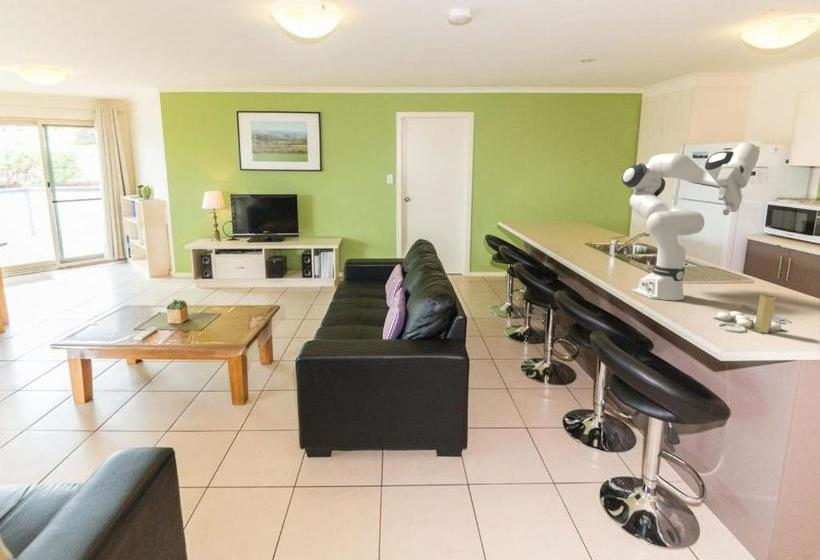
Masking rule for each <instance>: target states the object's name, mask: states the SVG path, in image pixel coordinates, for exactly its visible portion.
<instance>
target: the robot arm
mask: <svg viewBox="0 0 820 560" xmlns="http://www.w3.org/2000/svg"><path fill="white" fill-rule="evenodd" d="M759 156H760V150H759V148H758V147H757V146H756V145H755V144H753V143H751V142H742V143H740V144H738V145H737V146H736V147H734V148H732V149H729V150H727V151H719V152H715V153H713V154H711V155H710V156H709V158H707V160H706V161H705V163H704V169H703V168H702V167H701V166H699V165H698V164H696V163H695V161H694V160H693V159H692V158H690V157H689V156H688V155H687V154H683V153H679V152H667V153H666V152H665V153H660V154H655V155H654V156H652V157H651V158H650V159H649V161H648V163H647V164H644V163H642V162H641V163H638V164H635V165H631V166H629V167H627V168H626V169H625V170H624V171H623V173H622V177H621V182H622V183H623V185H624V186H626V188H629V189H632V190H634V193H632V194H631V195H630V198H629V205H630V207H631V208H632V209H633V210H634V212H636V213H637V215H640V216H641V217H642V218H643V219H645V220H646V223H645V225H646V230H647V231H648V233H649V234H651V235H652V237H653V238H654V240H655V243H656V247H657V256H656V264H655V265H651V269H652V272H651V273H649V274H647V275H645V276H643V277H641V278H640V280H639V282H638V286H637V287H634V288H632V291H633V292H634V293H637V294H639V295H642V296H644V297H646V298H649V299H651V300H664V301H682V300H684V299H685V296H684V280H683V278H684V277H685V272H686V269H685V268H686V267H685V264H686V263H685V261H686V253H687V252H686V249H685V247H684V246H682V245H681V244H680V243H679V241H678V237H680V236H682V237H683V236H692V235H695V234H698V233H701V231H702V230H703V229H704V227H705V218H704V216H703V214H702V213H701V212H698V211H694V210H690V209H686V208H684V207H681V206H679V205H676V204H673V203H670V202H668V201H666V200H663V199H662V198H661V197H659V196H660V195H661V193H662V192H663V191H664V190H665V187H666V180H665V179H664V178H670V179H677V180H681V181H685V182H688V183H692V184H695V185H700V186H706V187H712V188H717V189H718V190H719V192H718V196H717V199H718V201H723V202H724V205H725V208H724V209H723V211H722V214H723V215H724V216H729V215H730V213H735V212H736V213H737V212H738V211H739V209H740V205H741V203H742V201H743V193H742V190H741V189H744V188H745V187H747V185H748V183H749V180H750V179H751V176H752V171H753V170H754V168H755V167H756V164H757V163H758V160H759Z"/></svg>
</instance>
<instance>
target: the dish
mask: <svg viewBox="0 0 820 560" xmlns="http://www.w3.org/2000/svg"><path fill="white" fill-rule="evenodd" d="M715 326H716V328H717V329H718V330H720V331H721V330H722V331H725V332H728V333H735V334H736V333H737V334H739V333H746V331H747V329H745V327H743V326H740V325H737V324H732V323H725V322H719V323H716V325H715ZM722 326H728V327H735V328H738V329H731V328H729V329H728V328H725V327H722Z"/></svg>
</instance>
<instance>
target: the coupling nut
mask: <svg viewBox="0 0 820 560" xmlns="http://www.w3.org/2000/svg"><path fill="white" fill-rule="evenodd" d="M758 299H759V300H758V305H757V314H756V315H755V316H756V317H755V318H756V322H755V328H754V331H757V332H759V333H767V334H766V335H768V333H769V332H770V329H771V323H772V322H773V321H772V318H773V316H774V311H775V307H776V305H775V304H776V300H777V296H775V295H771V294H761V295H759V298H758ZM759 333H758V334H759Z"/></svg>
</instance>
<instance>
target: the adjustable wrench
mask: <svg viewBox="0 0 820 560" xmlns="http://www.w3.org/2000/svg"><path fill="white" fill-rule="evenodd" d="M740 308H741V309H742V310H745V309H746V310H745V311H747V310H748V311H747V312H749V313H752V312H753V313H752V314H755V315H757V310H758V308H755V307H752V306H750V305H747V304H741V305H740ZM772 322H776V323H779V324H781V325H787V323H789V324H792V321H791V320H790V319H787V318H783V317H778V316H774V315H773V318H772Z"/></svg>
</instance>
